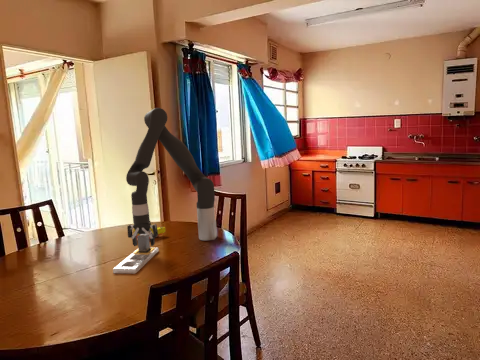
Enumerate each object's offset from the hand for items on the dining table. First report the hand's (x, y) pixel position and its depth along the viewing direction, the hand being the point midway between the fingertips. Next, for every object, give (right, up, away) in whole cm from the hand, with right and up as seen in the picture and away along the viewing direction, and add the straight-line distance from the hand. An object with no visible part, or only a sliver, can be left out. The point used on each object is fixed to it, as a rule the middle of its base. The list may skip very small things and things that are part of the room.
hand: (144, 245), depth 167 cm
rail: (-1, -6, -7) cm, 9 cm away
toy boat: (-4, -1, +26) cm, 27 cm away
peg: (0, -5, +1) cm, 5 cm away
